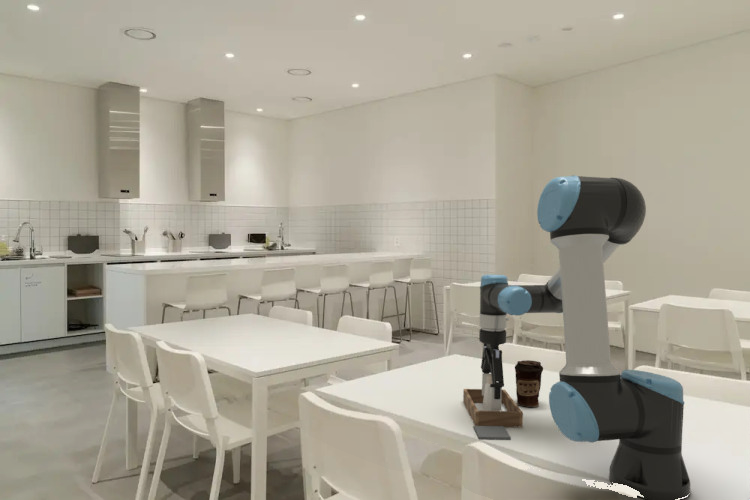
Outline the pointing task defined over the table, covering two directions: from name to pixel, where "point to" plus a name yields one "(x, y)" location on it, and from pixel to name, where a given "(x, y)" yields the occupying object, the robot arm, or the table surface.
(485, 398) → the salt shaker
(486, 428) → the mat
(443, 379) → the table surface
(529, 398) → the coffee cup
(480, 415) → the tray
